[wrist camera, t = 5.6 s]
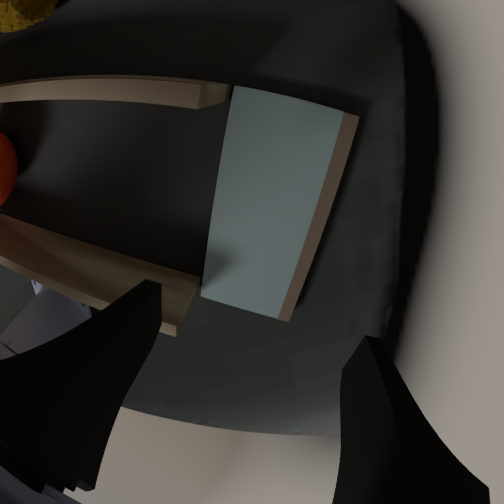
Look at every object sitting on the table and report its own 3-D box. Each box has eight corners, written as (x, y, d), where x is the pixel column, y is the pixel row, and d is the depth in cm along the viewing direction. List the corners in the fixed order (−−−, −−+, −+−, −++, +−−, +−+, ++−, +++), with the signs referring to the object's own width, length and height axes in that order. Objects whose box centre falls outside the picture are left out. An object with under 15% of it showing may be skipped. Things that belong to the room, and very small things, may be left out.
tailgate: (204, 289, 22) (289, 313, 21) (200, 296, 21) (288, 322, 21) (238, 85, 14) (357, 115, 14) (234, 85, 13) (359, 117, 13)
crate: (199, 287, 22) (176, 336, 18) (-16, 214, 23) (-46, 237, 18) (231, 84, 14) (201, 84, 10) (-27, 89, 15) (-65, 102, 11)
